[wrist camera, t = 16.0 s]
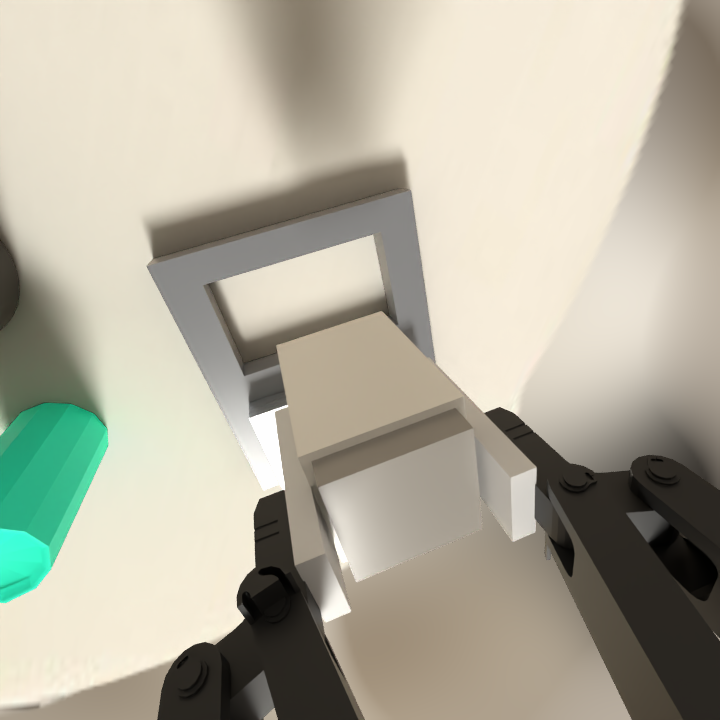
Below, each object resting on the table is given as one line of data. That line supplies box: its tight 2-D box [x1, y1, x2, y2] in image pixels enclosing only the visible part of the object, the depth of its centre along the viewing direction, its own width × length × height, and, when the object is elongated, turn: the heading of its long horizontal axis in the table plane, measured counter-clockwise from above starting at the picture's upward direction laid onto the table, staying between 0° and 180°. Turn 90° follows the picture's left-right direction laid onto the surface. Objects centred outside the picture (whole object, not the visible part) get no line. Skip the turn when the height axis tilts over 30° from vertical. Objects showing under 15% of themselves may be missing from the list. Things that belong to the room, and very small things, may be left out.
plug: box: [276, 311, 483, 582], centre depth 15 cm, size 5×5×8 cm
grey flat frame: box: [147, 189, 436, 491], centre depth 30 cm, size 20×17×2 cm
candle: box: [0, 403, 108, 603], centre depth 23 cm, size 6×6×12 cm
